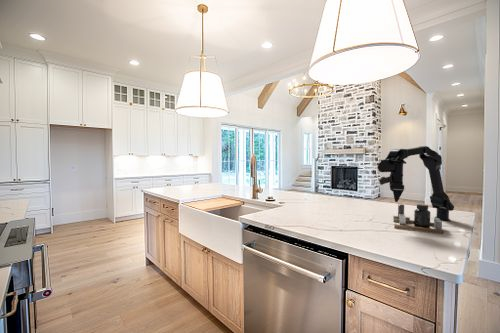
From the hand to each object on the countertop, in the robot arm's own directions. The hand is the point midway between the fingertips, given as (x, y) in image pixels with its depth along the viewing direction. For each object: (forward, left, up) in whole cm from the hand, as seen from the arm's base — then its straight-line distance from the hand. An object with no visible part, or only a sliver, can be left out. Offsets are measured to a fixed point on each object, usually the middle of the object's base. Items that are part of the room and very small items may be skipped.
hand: (395, 200), depth 129 cm
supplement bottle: (0, +12, -13) cm, 18 cm away
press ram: (-5, +3, -13) cm, 14 cm away
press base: (-4, +9, -13) cm, 17 cm away
